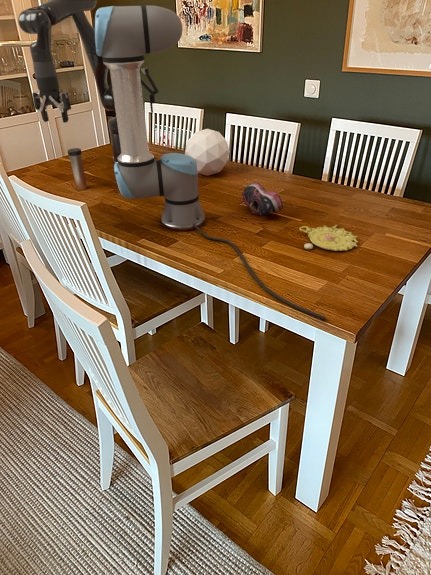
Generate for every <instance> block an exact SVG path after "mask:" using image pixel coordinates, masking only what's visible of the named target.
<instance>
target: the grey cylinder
mask: <svg viewBox="0 0 431 575" xmlns="http://www.w3.org/2000/svg"><path fill="white" fill-rule="evenodd" d="M69 160H70V161H69V162H70V165H71V170H72V175H73V178H74V179H73V180H74V185H75V189H76V190H77V191H84V190H87V189H88V185H87V180H86V173H85V170H84V169H85V168H84V164H83V158H82V154H81V155H77V156H69Z"/></svg>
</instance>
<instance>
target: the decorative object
mask: <svg viewBox="0 0 431 575" xmlns="http://www.w3.org/2000/svg"><path fill="white" fill-rule="evenodd" d="M303 228H304V229H305V230H304V229H303ZM299 231H300V232H303V233H305V234H307V237H308V238H309V240H310V241H311V243H304V244H303V248H304V249H305V250H313V249H314V245H315V246H316V247H318V248H321V249H324V250H328V251H335V252H341V251H348V250H352V249H354V247H356V248H358V247H359V245H358V244H357V243H359V240H357V238H359V237H358V235H353V234H352V231H347V230H346V229H345V228H344V227H342V228H338V224H335V225H333V226H331V227H328V226H327V225H326V224H325V225H323V226H322V227H321V226H317V227H316V228H314V227H309V226H308V225H302V226H300V227H299ZM313 244H314V245H313Z"/></svg>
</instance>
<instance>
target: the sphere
mask: <svg viewBox="0 0 431 575" xmlns="http://www.w3.org/2000/svg"><path fill="white" fill-rule="evenodd" d="M230 153H231V151H230V148H229V145H228V142H227V139H226V138H225V137H224V136H223V135H222V133H221V132H220V131H217V130H214V129H210V128H205V129H202V130H201V129H200V130H199V131H195V132H194V133H193V134H192V135H191V136H190V137H189V139H188V140H187V143H186V146H185V151H184V154H185V155H188V156H191V157H192V158H194V159H195V161H196V163H197V171H198V174H199V175H204V176H207V177H209V176H212V175H215V174H218V173H220V172H221V171H222V170H223V169H224V167H225V166H226V165H227V162H228V159H229V156H230Z"/></svg>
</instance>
